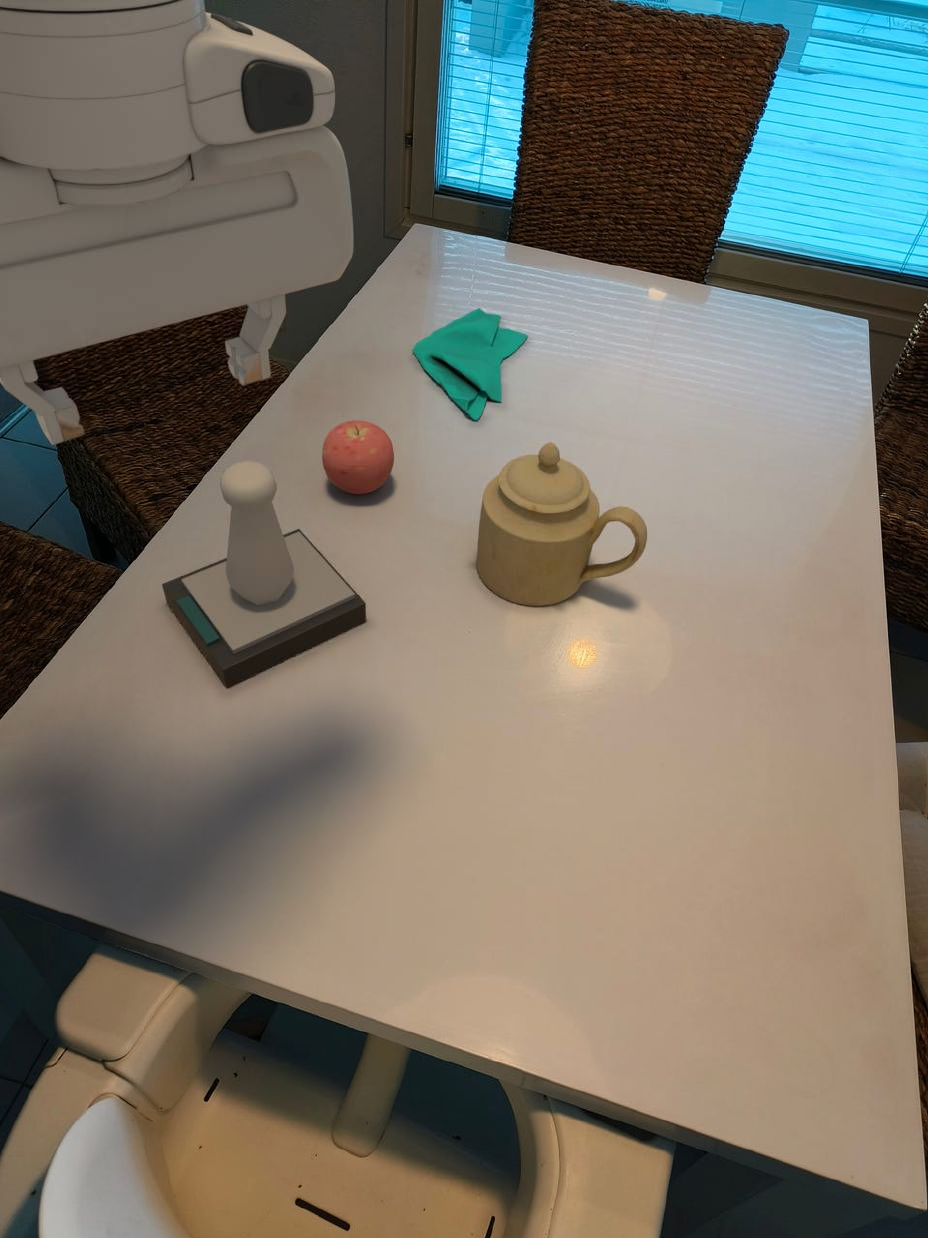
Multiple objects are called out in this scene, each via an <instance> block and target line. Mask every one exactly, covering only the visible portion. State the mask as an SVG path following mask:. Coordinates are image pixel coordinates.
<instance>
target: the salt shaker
mask: <svg viewBox="0 0 928 1238" xmlns="http://www.w3.org/2000/svg"><path fill="white" fill-rule="evenodd" d="M277 486H278V485H277V480H276V479H275V476H274V473H273V471H272V469H271V468H269V467H268V466H267V465H265V464H264V463H261V462H258V461H254V460H242V461H238V462H236V463H233V464H231V465H230V466H229V467H227V468H226V469H225V470H224V471H223V472H222V474H221V476H220V479H219V487H220V490H221V495H222V498H223V500H224V502H225V503H226V504H227V505H229V506H231V508H230V517H229V528H228V529H229V530H228V539H227V551H226V558H227V561H226V575H227V579H228V582H229V584H230V586H231V587H232V588H233V589H234V590H235V591H236V592H237V593H238V594H239V596H240V597H241V598H243V599H245V600H247V601H249V602H251V603H253V604H255V605H257V606H259V605H263V604H268V603H272V602H277V601H279V599H280V597H281V596H282V594H283V593H284V591H285V590H286V588H287V587H288V585H289V584H290V582H291V579H292V576H293V573H294V566H293V563H292V560H291V557H290V554H289V551H288V548H287V545H286V542H285V539H284V536H283V535H284V534H283V530H282V528H281V524H280V522H279V519H278V516H277V513H276V510H275V508H274V507H275V506H274V505H273V501H274V499H275V496H276V493H277V491H278V490H277Z"/></svg>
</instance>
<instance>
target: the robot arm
mask: <svg viewBox="0 0 928 1238" xmlns="http://www.w3.org/2000/svg"><path fill="white" fill-rule="evenodd" d="M335 103H336V87H335V80H334V75H333V73H332V71H331V70H330V69H329V68H328V67H327V66H326V65H324V64H323V63H322V62H320V61H318V60H317V59H316V58H315V57H313V56H311V55H310V54H308V53H307V52H305V51H303V50H302V49H300V48H299V47H297V46H295V45H294V44H292V43H290V42H288V41H287V40H284V39H282V38H280V37H278V36H276V35H274V34H271V33H270V32H267V31H265V30H262V29H260V28H258V27H256V26H253V25H250V24H247V23H245V22H242V21H238V20H235V19H233V18H231V17H228V16H224V15H221V14H218V13H215V12H213V13H210V12H207V11H206V5H205V0H0V384H1V385H2V387H3V388H4V390H5V391H6V392H8V393H9V394H10V395H12V396H13V397H14V398H16V399H18V401H20V402H21V403H22V404H23V405H25V406H26V407H28V408H29V409H30V410H31V411H33V412H34V414H35V416H36V419H37V423H38V424H39V426H40V428H41V430H42V432H43V434H44V435H45V437H46V438H47V440H48V441H49V443H50V445H52V446H54V445H58V444H60V443H65V442H67V441H71V440H74V439H76V438H81V437H83V436H85V429H84V426H83V425H82V424H81V422H80V419H81V417H80V413H79V410H78V407H77V405H76V403H75V402H74V401H73V399H72V398H70V397H69V395H68V392H67V391H66V390H65V389H64V387H62V386H60V387H56V388H52V389H47V390H44V389H42V388H41V387H40V386H38V384H36V383H35V382H37V381H38V379H39V376H38V372H37V370H36V369H37V368H36V366H35V363H34V361H36V360H41V359H43V358H47V357H51V356H55V355H59V354H62V353H67V352H70V351H75V350H77V349H81V348H82V349H83V348H86V347H89V346H93V345H97V344H100V343H104V342H108V341H113V340H116V339H120V338H123V337H124V338H125V337H127V336H131V335H135V334H138V333H142V332H146V331H150V330H154V329H157V328H162V327H165V326H169V325H173V324H176V323H181V322H184V321H188V320H192V319H196V318H199V317H204V316H208V315H211V314H215V313H219V312H223V311H226V310H227V311H228V310H229V309H233V308H238V307H241V306H245V305H246V306H248V308H247V311H246V314H245V317H244V320H243V323H242V326H241V329H240V332H239V336H237V337H233V338H231V339H228V340H225V341H224V345H225V353H226V354H227V355H228V356H229V358H228V360H227V365H228V369H229V372H230V374H231V375H232V377H233V378H234V379H235V380H238V382H239V384H240V385H241V386H247V385H250V384H253V383H256V382H260V381H263V380H264V381H265V380H267V379H270V378H271V376H272V373H271V362H270V353H269V350H270V349H271V347H272V346H273V344H274V341H275V340H276V338H277V335H278V332H279V330H280V328H281V326H282V324H283V322H284V320H285V318H286V315H287V303H286V295H288V294H291V293H295V292H298V291H299V292H300V291H302V290H303V291H304V290H306V289H310V288H313V287H317V286H321V285H325V284H329V283H333V282H336V281H338V280H340V278H341V277H342V276H343V274H344V273H345V271H346V269H347V267H348V265H349V263H351V260H352V258H353V255H354V240H355V239H354V217H353V205H352V193H351V184H350V179H349V178H350V177H349V169H348V164H347V161H346V156H345V152H344V149H343V147H342V145H341V143H340V141H339V139H338V138H337V136H336V134H334V133H333V132H332V131H331V129H329V128H328V127H326V126H325V124H327V123H329V121H330V120H331V119H332V117H333V115H334V111H335V105H336V104H335Z"/></svg>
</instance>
